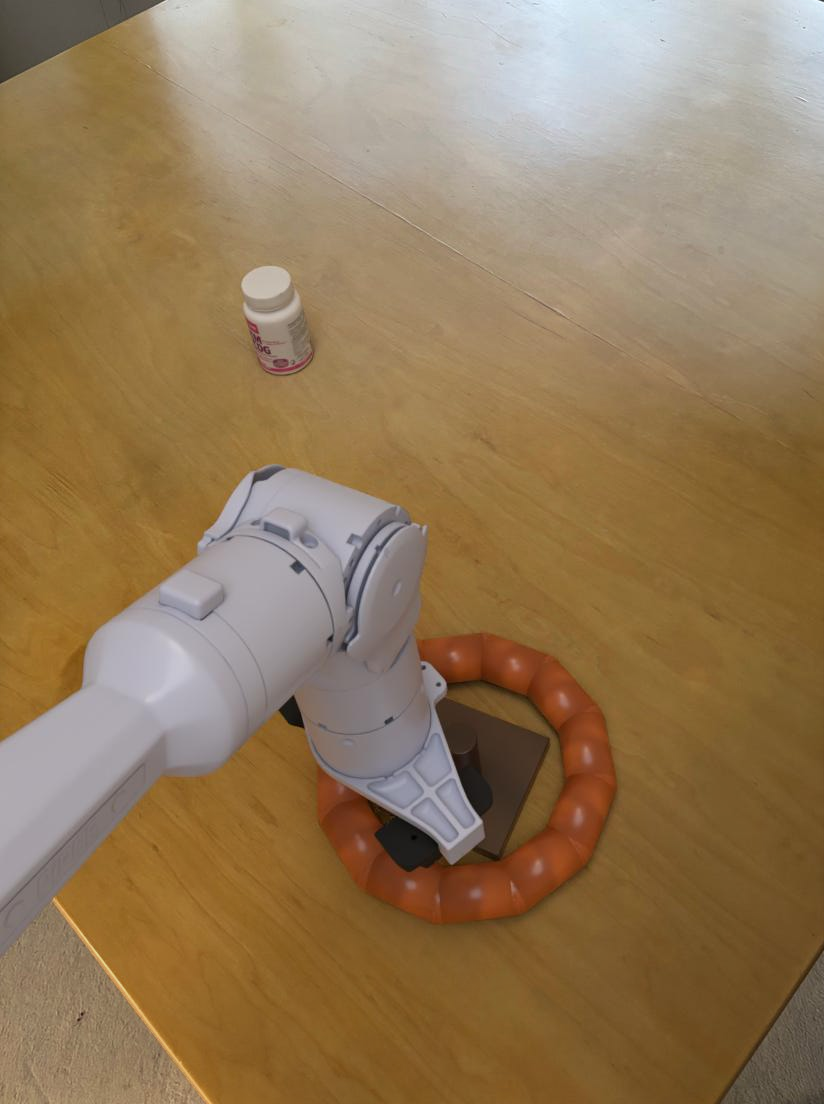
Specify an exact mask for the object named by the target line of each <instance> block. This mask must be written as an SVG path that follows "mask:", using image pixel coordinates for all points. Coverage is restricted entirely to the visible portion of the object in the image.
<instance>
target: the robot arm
mask: <svg viewBox="0 0 824 1104" xmlns="http://www.w3.org/2000/svg"><path fill="white" fill-rule="evenodd" d="M196 547H197V548H196V553H197V554H196V556H195V557H194V558H192V559H191V560H190V561H188V562H187V563H185V564H184V565H183V566H181V567H180V568H179V569H178V570H177V571H175V572H173V573H172V574H171V575H169V576H168V577H167V578H166V579H164V580H163V581H161V582H160V583H159V584H157V585H155V587H153V588H151V589H150V590H149V591H147V592H146V593H145V594H143V595H142V596H141V597H139V598H138V599H137V600H135V601H134V602H132V603H131V604H130V605H128V606H127V607H126V608H124V609H123V610H121V611H120V612H119V613H117V614H116V615H115V616H113V617H112V618H110V619H109V620H108V621H106V622H104V624H103V625H101V626H100V627H98V629H96V631H95V632H94V633H93V634H92V636H91V637H90V639H89V641H88V642H87V645H86V648H85V652H84V657H83V658H84V659H83V662H82V663H83V664H82V665H83V667H82V669H83V670H82V684H81V687H80V689H78V690H77V691H76V692H74V693H72V694H71V695H69V696H68V697H67V698H65V699H64V700H62V701H60V702H59V703H57V704H56V705H54V706H52V707H51V708H49V709H48V710H47V711H45V712H43V713H42V714H40V715H39V716H38V717H36V718H34V719H33V720H31V721H30V722H28V723H27V724H25V725H24V726H23V727H21V728H19V729H18V730H16V731H15V732H14V733H12V734H10V735H9V736H7V737H6V738H5V739H3V740H1V741H0V959H1V958H2V957H4V955H5V954H6V953H7V952H8V950H9V949H10V948H11V947H12V946H13V945H14V944H15V943H16V941H17V940H18V939H19V938H20V937H21V936H22V935H23V933H24V932H25V931H26V930H27V929H28V928H29V927H30V926H31V925H32V923H33V922H34V921H35V920H36V919H37V918H38V917H39V915H40V914H41V913H42V912H43V911H44V910H45V908H47V906H48V905H49V904H50V903H51V902H52V901H53V899H54V898H55V897H56V896H57V895H58V894H59V893H60V892H61V891H62V889H63V888H64V887H65V886H66V885H67V884H68V883H69V881H70V880H71V879H72V878H73V877H74V876H75V874H76V873H77V872H78V871H79V870H80V869H81V868H82V866H83V865H84V864H85V863H86V862H87V861H88V860H89V859H90V857H92V855H93V854H94V853H95V852H96V851H97V849H98V848H99V847H100V846H101V845H102V844H103V843H104V841H105V840H106V839H108V837H109V836H110V835H111V834H112V832H114V830H115V829H116V828H117V827H118V825H119V824H120V823H121V822H122V821H123V820H124V819H125V817H127V815H128V814H130V812H131V811H132V810H133V808H135V806H136V805H137V804H138V803H139V802H140V800H141V799H142V798H143V797H144V796H145V795H146V794H147V793H148V792H149V790H150V789H151V788H152V787H153V786H154V785H155V783H157V781H158V780H159V779H160V778H161V777H175V778H186V779H187V778H188V779H191V778H201V777H205V776H208V775H211V774H213V773H215V772H217V771H219V770H220V769H221V768H222V767H223V766H225V764H227V762H229V761H230V760H231V758H232V757H233V756H234V755H235V754H236V753H238V751H240V750H241V749H242V748H243V746H244V745H246V743H247V742H248V741H250V739H252V737H254V735H256V733H257V732H259V730H260V729H261V728H262V727H263V726H264V725H265V724H266V723H267V722H268V721H269V720H270V719H271V718H272V717H273V716H274V715H275V714H276V713H277V712H279V714H280V715H281V716H282V717H283V719H284V720H285V722H287V724H288V725H289V726H293V727H297V728H300V729H303V730H305V733H306V738H307V742H308V745H309V748H310V750H311V753H312V755H313V757H314V759H315V761H316V763H318V764H319V766H320V767H321V768H322V769H323V770H324V771H325V772H326V773H327V774H328V775H329V776H331V777H332V778H333V779H335V780H336V781H338V782H340V783H342V784H343V785H345V786H347V787H348V788H350V789H352V790H354V791H355V792H357V793H359V794H360V795H362V796H364V797H366V798H367V799H368V801H371V802H373V803H374V804H376V805H378V807H379V806H381V807H383V808H384V809H386V810H388V811H390V812H391V813H393V814H395V815H396V817H395V816H393V818H391V820H389V821H388V822H387V823H385V824H384V825H382V826H383V827H382V828H380V829H379V830H378V831H377V832H375V833H374V835H375V838H376V839H377V840H378V841H379V843H380V844H381V845H382V847H383V848H384V849H385V851H386V852H387V853H388V855H389V856H390V857H391V858H392V860H393V861H394V862H395V863H396V864H397V865H398V866H399V867H400V868H402V869H403V870H405V871H407V872H411V871H413V870H415V869H416V868H418V867H419V866H421V867H423V868H429V867H430V866H431V865H433V864H434V863H437V862H438V861H439V860H440V859H441V858H442V857H444V858H445V860H446V861H447V862H448V864H449V865H451V866H454V864H456V863H457V862H458V861H459V860H460V859H462V858H463V857H464V856H465V855H466V854H468V853H469V852H470V851H472V850H471V849H473V848H474V847H475V846H476V845H477V844H478V843H479V842H481V841H482V840H483V839H484V838H485V833H484V826H483V821H482V819H481V818H480V817H481V816H482V815H483V814H484V813H486V812H487V811H488V810H489V809H490V808H491V806H492V804H493V794H492V790H491V788H490V786H489V785H488V783H487V782H486V781H485V780H484V779H483V777H482V776H481V775H480V774H479V773H478V772H477V770H476V769H475V768H474V767H473V766H472V765H471V764H468V765H466V766H465V767H464V768H463V769H461V770H460V771H459V772H458V773H457V770H456V767H455V764H454V762H453V759H452V756H451V753H450V750H449V747H448V744H447V742H446V739H445V736H444V733H443V730H442V727H441V724H440V722H439V719H438V716H437V713H436V710H435V706H436V704H437V703H438V702H439V701H440V700H441V699H443V698H444V697H445V698H446V695H447V694H448V686H447V684H448V683H447V684H446V682H445V680H444V678H443V677H442V676H441V675H440V674H439V673H438V672H437V671H436V669H435V668H434V667H433V666H432V665H431V664H430V663H428V662H426V661H421V662H420V657H419V652H418V647H417V642H416V641H417V637H416V633H415V627H416V626H417V623H418V622H419V620H420V614H421V613H420V611H421V609H422V606H423V603H422V597H421V582H422V577H423V573H424V569H425V565H426V560H427V554H428V547H429V526H428V524H424V525H423V526H421V525H420V524H419V523H416V522H412V520H411V517H410V513H409V512H408V510H407V509H405V507H403V506H401V505H398V504H395V503H392V502H390V501H387V500H384V499H381V498H378V497H377V496H373V495H371V494H367V493H365V492H362V491H360V490H357V489H354V488H352V487H349V486H346V485H344V484H340V483H338V482H336V481H332V480H330V479H327V478H325V477H323V476H319V475H316V474H314V473H311V472H308V471H305V470H303V469H300V468H297V467H287V466H285V465H283V464H280V463H271V464H267V465H264V466H262V467H260V468H258V469H257V470H251V471H249V472H248V473H247V474H246V475H245V476H244V478H243V479H242V480H241V481H240V482H239V484H238V485H237V486H236V487H235V489H234V490H233V492H232V494H231V495H230V496H229V498H228V500H226V503H225V505H224V507H223V509H222V511H221V513H220V514H219V517H217V520H216V521H215V522H214V523H213V525H211V526H210V527H209V528H208V529H207V530H205V531H204V532H203V537H202V538H201V539H200V540H199V541H198V542H197V545H196Z"/></svg>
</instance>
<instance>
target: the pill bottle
mask: <svg viewBox="0 0 824 1104" xmlns="http://www.w3.org/2000/svg"><path fill="white" fill-rule="evenodd" d="M240 287H241V292H242V296H243V302H242V303H243V304H242V310H243V311H242V312H243V315H244V318H245V321H246V324H247V328H248V331H249V335H250V338H251V341H252V344H253V347H254V350H255V355H256V358H257V360H258V363H259V365H260V366H261V368H262V369H263V370H264V371H266V372H268V373H270V374H273V375H278V376H280V375H281V376H286V375H291V374H294V373H297V372H299V371H301V370H302V369H304V368H305V367H306V366H307V365H308V364H309V363H310V362H311V360H312V358H313V355H314V346H313V341H312V337H311V333H310V330H309V325H308V322H307V321H308V320H307V318H306V313H305V309H304V305H303V300H302V298H301V295H300V294H299V292H298V291H297V289H296V288H294V284H293V280H292V277H291V274H290V273H289V271H288V270H286V269H284V268H282V267H280V266H277V265H264V266H259V267H256V268H254V269H252V270H251V271H249V272H247V273H246V275H244V277H243V278H242V281H241V283H240Z"/></svg>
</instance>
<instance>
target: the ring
mask: <svg viewBox="0 0 824 1104" xmlns="http://www.w3.org/2000/svg"><path fill="white" fill-rule="evenodd" d="M416 642H417V647H418V652H419V657H420V662H421V661H426V662H428V663H430V664H431V665H432V666H433V667H434V668H435V669H436V671H437V672H438V673H439V674H440V675H441V676H442V677H443V678H444V680H445V682H446V684H455V683H463V682H472V681H480V680H482V681H485V682H488V683H491V684H493V685H496V686H498V687H500V688H504V689H506V690H509V691H511V692H515V693H517V694H519V695H522V696H525V697H527V698H528V699H529V700H530V701H531V702H532V704H533V705H534V706H535V708H537V709H538V711H539V712H540V713H541V715H542V716H543V717H544V718H545V720H547V721H548V723H549V724H550V725H551V726H552V727H553V729H554V730H555V731H556V732H557V734H558V739H559V745H560V752H561V759H562V765H563V771H564V779H565V781H564V782H563V786H562V788H561V791H560V792H559V794H558V797H557V800H556V802H555V805H554V807H553V810H552V812H551V814H550V817H549V819H548V821H547V824H546V826H545V828H543V829H542V830H540V831H539V832H538V833H536V834H535V835H533V836H532V837H531V838H530V839H528V840H527V841H526V842H524V843H523V844H521V845H520V846H519V847H518V848H516V849H515V850H513V851H512V852H511V853H509V854H508V855H507V856H506V857H504V858H503V859H501V860H500V861H496V860H494V861H487V862H479V863H469V864H462V865H461V864H460V865H451V866H443V865H441V864H438V863H437V862H435V863H434V864H433V865H431V866H430V867H429V868H423V867H421V866H419V867H418V868H416V869H415V870H413V871H411V872H407V871H405V870H403V869H402V868H400V867H399V866H398V865H397V864H396V863H395V862H394V861H393V860H392V858H391V857H390V856H389V855H388V853H387V852H386V851H385V849H384V848H383V847H382V845H381V844H380V843H379V841H378V840H377V839H376V838H375V835H374V833H375V832H377V831H378V830H379V829H380V828H382V827H383V826H384V825H383V824H382V823H381V821H380V819H378V817H377V815H376V814H375V812H374V811H373V810H372V808H371V806H370V804H369V799H367V798H366V797H364V796H362V795H360V794H359V793H357V792H355V791H354V790H352V789H350V788H348V787H347V786H345V785H343V784H342V783H340V782H338V781H336V780H335V779H333V778H332V777H331V776H329V775H328V774H327V773H326V772H325V771H324V770H323V769H322V768H321V767H320V766H319V764H318V763H317V762H316V763H317V765H316V766H317V769H316V771H317V774H316V775H317V783H316V784H317V791H316V792H317V797H316V798H317V806H316V807H317V808H316V809H317V811H316V813H317V814H316V815H317V821H318V825H319V826H320V829H321V830H322V832H323V834H324V835H325V837H326V838H327V840H328V842H329V843H330V845H331V846H332V848H333V850H334V851H335V852H336V854H337V856H338V857H339V859H340V860H341V862H342V864H343V865H344V867H345V868H346V870H347V872H348V873H349V875H350V876H351V878H352V880H353V881H354V883H355V884H356V886H357V887H358V888H359V889H360V890H361V891H362V892H363V893H365V894H367V895H369V896H372V897H374V898H376V899H378V900H380V901H382V902H385V903H387V904H388V905H391V906H393V907H395V908H397V909H400V910H402V911H404V912H406V913H407V914H410V915H412V916H414V917H416V918H419V919H421V920H423V921H425V922H428V923H430V924H432V925H437V926H444V925H454V924H462V923H463V924H464V923H471V922H479V921H487V920H496V919H505V918H513V917H518V916H520V915H523V914H526V913H527V912H528V911H529V910H531V909H532V908H533V907H535V906H536V905H538V903H540V902H541V901H542V900H544V899H545V898H546V897H548V896H549V895H551V893H553V892H554V891H556V890H557V889H558V888H559V887H560V886H562V885H563V884H564V883H566V882H567V881H568V880H570V879H571V878H572V877H573V876H575V875H576V874H577V873H578V872H580V871H581V870H583V868H585V867H586V866H587V865H588V863H589V862H590V860H591V858H592V855H593V853H594V850H595V848H596V846H597V843H598V840H599V837H600V834H601V833H602V832H601V831H602V829H603V827H604V825H605V822H606V820H607V817H608V814H609V811H610V809H611V807H612V803H613V801H614V798H615V796H616V793H617V787H618V783H617V776H616V771H615V766H614V760H613V755H612V750H611V744H610V738H609V733H608V729H607V723H606V717H605V714H604V712H603V710H602V709H601V707H600V706H599V705H598V704H597V703H596V701H594V699H593V698H592V697H591V696H590V695H589V693H588V692H587V691H586V690H585V689H584V687H582V685H581V684H580V683H579V682H578V681H577V680H576V678H575V677H574V676H573V675H572V674H571V673H570V672H569V670H568V669H567V668H566V667H565V666H564V665H563V664H562V663H561V661H560V660H559V659H558V658H556V657H555V656H553V655H552V654H549V653H546V652H543V651H541V650H538V649H535V648H532V647H529V646H528V645H524V644H522V643H519V642H516V641H514V640H511V639H508V638H505V637H502V636H500V635H497V634H494V633H491V632H476V633H467V634H459V635H449V636H443V637H442V636H441V637H432V638H424V639H418V640H416Z"/></svg>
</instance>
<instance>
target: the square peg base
mask: <svg viewBox="0 0 824 1104" xmlns="http://www.w3.org/2000/svg"><path fill="white" fill-rule="evenodd" d="M435 710H436V713H437V716H438V719H439V722H440V724H441V727H442V730H443V733H444V736H445V739H446V742H447V744H448V747H449V750H450V753H451V756H452V759H453V762H454V764H455V767H456V770H457V773H458V772H459V771H460V770H461V769H463V768H464V767H465V766H466V765H468V764H471V765H472V766H473V767H474V768H475V769H476V770H477V772H478V773H479V774H480V775H481V776H482V777H483V779H484V780H485V781H486V782H487V783H488V785H489V786H490V788H491V790H492V794H493V804H492V806H491V808H490V809H489V810H488V811H487V812H486V813H484V814H483V815H482V816H481V817H480V818H481V819H482V821H483V826H484V833H485V838H484V839H483V840H482V841H481V842H479V843H478V844H477V845H476V846H475V847H474V848H473V849H471V850H470V851H473V852H474V853H475V852H476V853H478V854H480V855H482V856H485V857H487V858H489V859H491V860H494V861H501V859H502V855H503V854H504V852H505V850H506V847H507V845H508V842H509V841H510V837H511V836H512V833H513V831H514V828H515V827H516V824H517V822H518V820H519V818H520V814H521V813H522V810H523V808H524V805H525V803H526V801H527V799H528V796H529V794H530V792H531V790H532V787H533V784H534V783H535V780H536V778H537V775H538V774H539V771H540V769H541V766H542V764H543V762H544V760H545V757H546V755H547V754H548V751H549V749H550V746H551V743H550V741H551V739H550V737H547V736H544V735H542V734H539V733H537V732H534V731H531V730H529V729H526V728H524V727H522V726H519V725H516V724H513V723H511V722H509V721H506V720H504V719H501V718H498V717H496V716H493V715H491V714H488V713H486V712H483V711H481V710H478V709H475V708H472V707H470V706H468V705H466V704H462V703H460V702H458V701H455V700H452V699H450V698H448V697H446V696H445V697H444V698H443V699H441V700H440V701H439V702H438V703H437V704H436V706H435ZM378 807H379V810H380V811H381V812H384V813H386V814H388V815H391V816H392V817H396V815H395V814H393V813H391V812H390V811H388V810H386V809H384V808H383V807H381V806H379V805H378Z"/></svg>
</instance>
